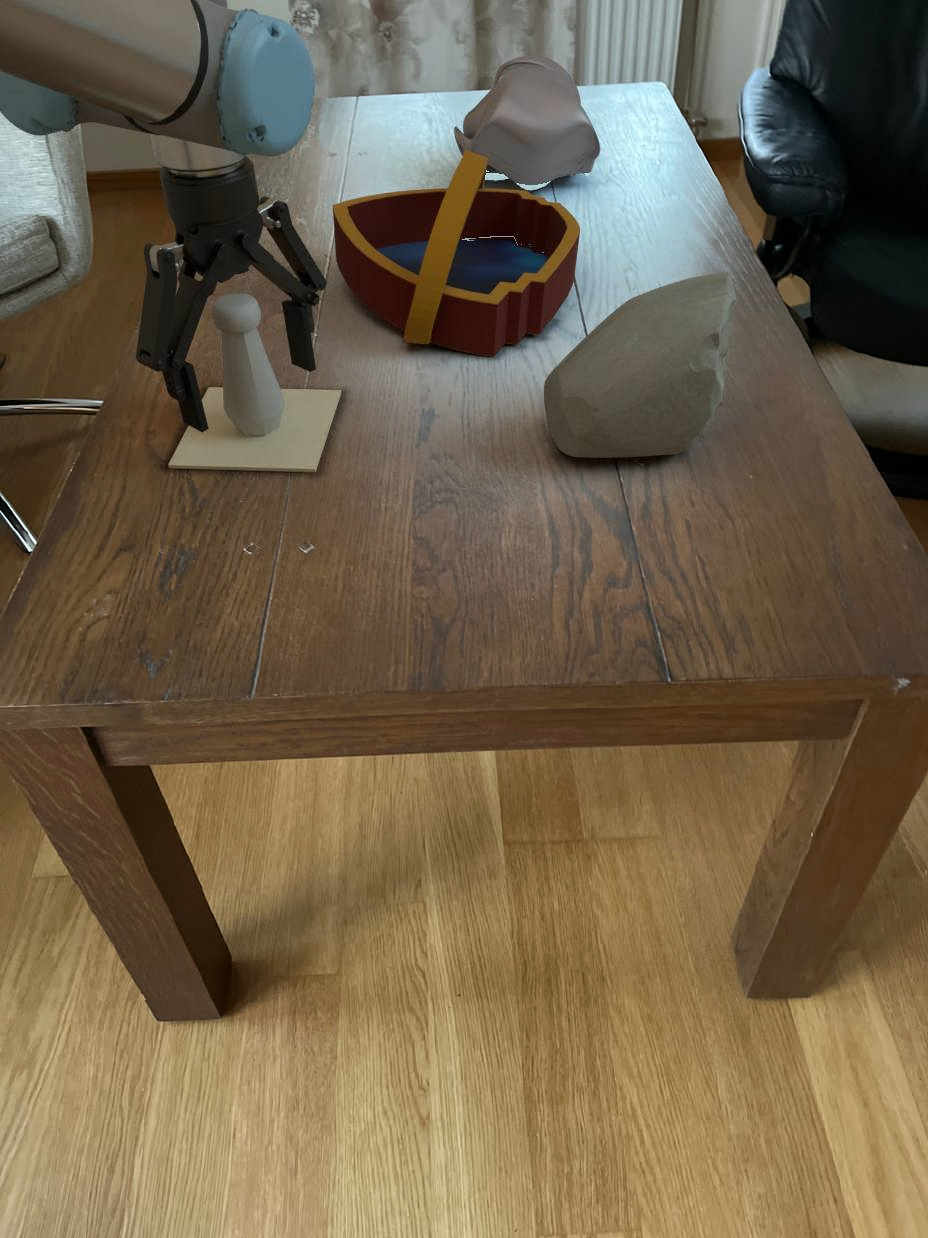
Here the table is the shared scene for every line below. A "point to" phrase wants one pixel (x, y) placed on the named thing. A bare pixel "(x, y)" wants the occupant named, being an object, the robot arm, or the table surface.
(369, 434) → the table surface
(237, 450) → the placemat
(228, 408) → the salt shaker
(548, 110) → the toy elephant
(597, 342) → the decorative stone
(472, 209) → the decorative basket
